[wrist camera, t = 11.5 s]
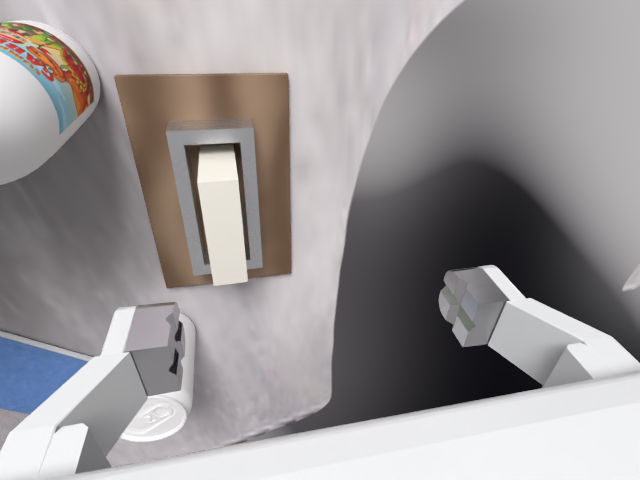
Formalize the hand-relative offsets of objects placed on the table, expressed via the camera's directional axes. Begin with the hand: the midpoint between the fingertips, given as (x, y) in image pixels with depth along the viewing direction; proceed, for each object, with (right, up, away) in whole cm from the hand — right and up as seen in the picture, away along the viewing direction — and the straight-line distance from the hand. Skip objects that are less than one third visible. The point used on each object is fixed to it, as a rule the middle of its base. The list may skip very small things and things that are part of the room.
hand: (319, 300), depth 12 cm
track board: (-10, +7, +27) cm, 30 cm away
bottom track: (-10, +7, +27) cm, 30 cm away
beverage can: (-19, -9, +35) cm, 41 cm away
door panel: (-10, +6, +26) cm, 29 cm away
